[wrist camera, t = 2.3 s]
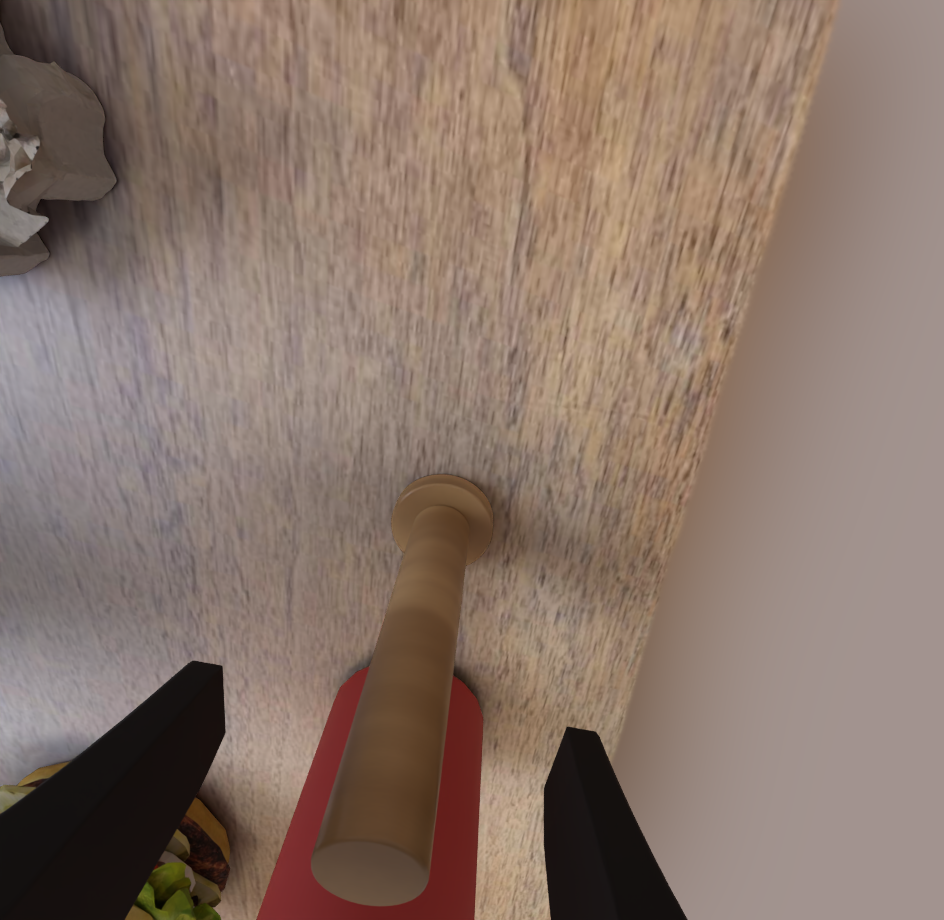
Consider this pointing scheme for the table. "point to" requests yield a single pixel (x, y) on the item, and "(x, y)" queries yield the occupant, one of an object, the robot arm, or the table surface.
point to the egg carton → (44, 151)
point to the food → (168, 861)
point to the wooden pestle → (404, 704)
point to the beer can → (455, 838)
